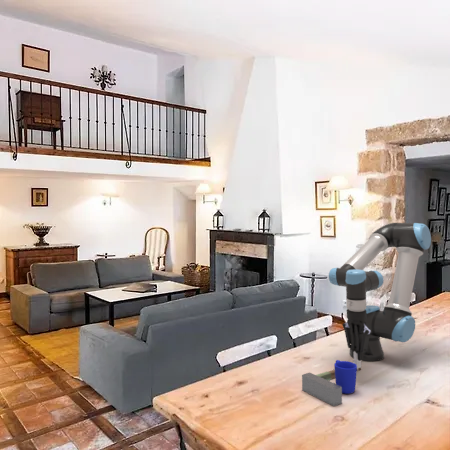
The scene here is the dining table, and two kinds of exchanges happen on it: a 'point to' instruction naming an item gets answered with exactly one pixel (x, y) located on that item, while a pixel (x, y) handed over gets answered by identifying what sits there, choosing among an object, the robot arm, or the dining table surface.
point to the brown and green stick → (330, 374)
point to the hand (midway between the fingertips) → (357, 367)
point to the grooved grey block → (322, 389)
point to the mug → (346, 375)
